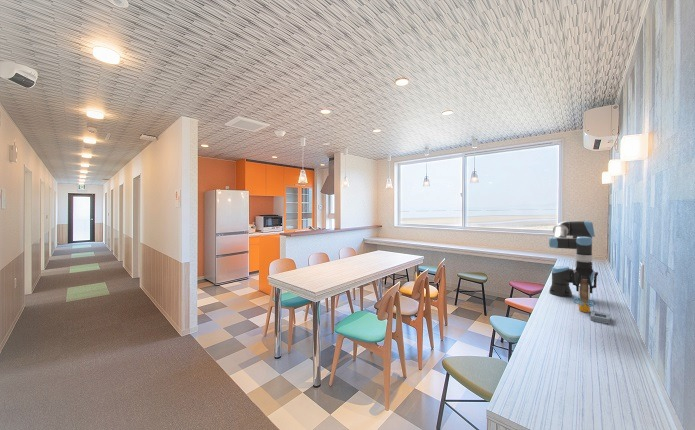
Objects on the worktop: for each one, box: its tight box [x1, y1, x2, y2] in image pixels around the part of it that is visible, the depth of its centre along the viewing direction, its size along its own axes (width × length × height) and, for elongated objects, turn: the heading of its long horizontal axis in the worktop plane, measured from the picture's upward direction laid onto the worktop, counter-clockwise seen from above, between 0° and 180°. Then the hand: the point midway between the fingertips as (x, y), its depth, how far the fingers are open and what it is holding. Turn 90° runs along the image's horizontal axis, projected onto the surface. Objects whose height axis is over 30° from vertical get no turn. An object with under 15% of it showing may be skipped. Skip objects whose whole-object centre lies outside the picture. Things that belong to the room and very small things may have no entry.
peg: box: [579, 279, 589, 302], centre depth 175 cm, size 4×4×14 cm
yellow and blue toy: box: [572, 296, 596, 313], centre depth 194 cm, size 12×10×15 cm
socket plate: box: [590, 310, 611, 325], centre depth 179 cm, size 12×9×3 cm
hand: (584, 297), depth 175 cm, fingers closed on peg, 4 cm apart
